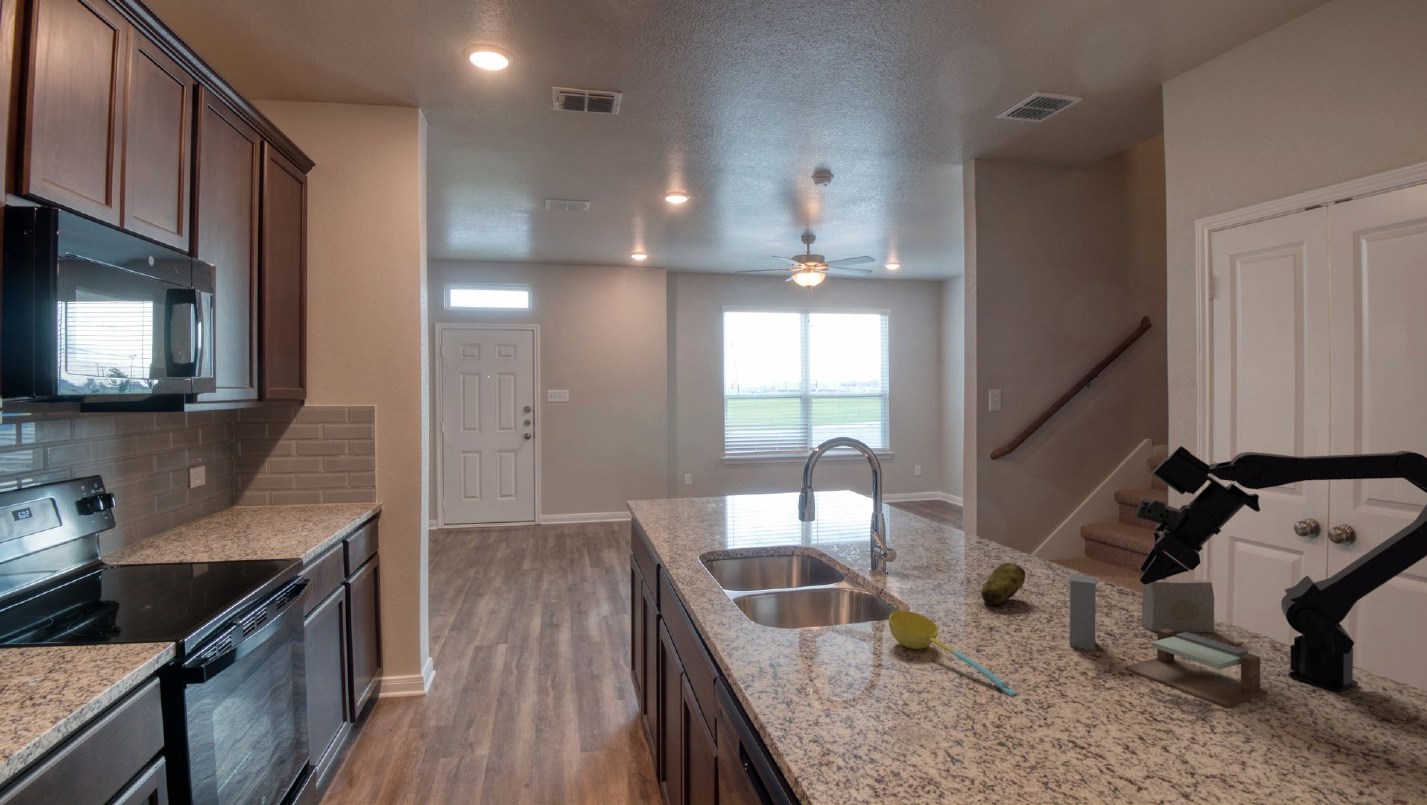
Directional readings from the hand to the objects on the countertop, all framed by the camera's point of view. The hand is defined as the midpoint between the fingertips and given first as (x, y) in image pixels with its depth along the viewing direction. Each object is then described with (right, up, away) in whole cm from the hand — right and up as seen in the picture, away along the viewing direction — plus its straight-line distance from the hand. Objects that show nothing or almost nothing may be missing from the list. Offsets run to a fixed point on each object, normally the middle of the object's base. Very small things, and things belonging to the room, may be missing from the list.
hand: (1142, 576), depth 118 cm
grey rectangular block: (-10, -13, +2) cm, 16 cm away
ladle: (-37, -14, -7) cm, 40 cm away
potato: (-14, -13, +27) cm, 33 cm away
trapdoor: (+1, -10, -13) cm, 16 cm away
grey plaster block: (+13, -13, +10) cm, 21 cm away
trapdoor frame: (0, -13, -13) cm, 19 cm away
